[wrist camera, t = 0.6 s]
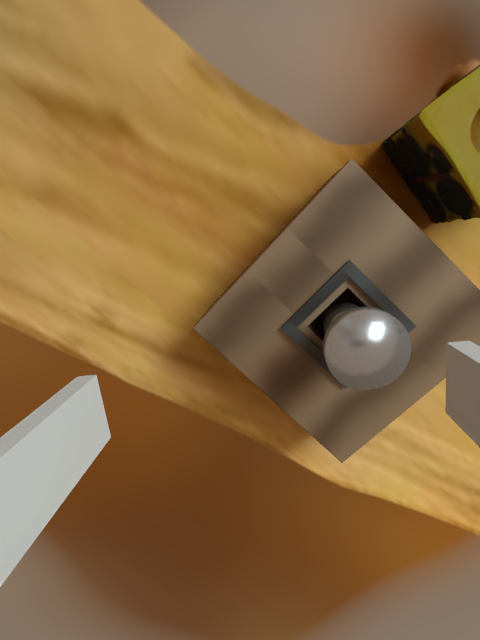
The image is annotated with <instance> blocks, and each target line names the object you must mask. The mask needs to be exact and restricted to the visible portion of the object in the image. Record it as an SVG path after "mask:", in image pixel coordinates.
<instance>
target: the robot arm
mask: <svg viewBox="0 0 480 640" xmlns="http://www.w3.org/2000/svg"><path fill="white" fill-rule="evenodd" d="M446 413H447V414H448V415H449V416H450V417H451V419H452V420H453V421H454V422H455V423H456V424H457V425H458V426H459V427H460V428H461V429H462V430H463V431H464V432H465V433H466V434H467V435H468V436H469V437H470V438H471V439H472V440H473V441H474V442H475V443H476V444H477V445H478V446H479V447H480V346H478V345H476V344H474V343H473V342H471V341H459V342H448V343H447V349H446ZM110 438H111V435H110V431H109V427H108V423H107V418H106V414H105V410H104V405H103V402H102V397H101V393H100V388H99V384H98V380H97V375H88V376H79V377H77V378H75V379H74V380H73V381H71V382H70V383H69V384H68V385H66V386H65V387H64V388H63V389H61V390H60V391H59V392H58V393H56V394H55V395H54V396H52V397H51V398H50V399H49V400H47V401H46V402H45V403H44V404H43V405H41V406H40V407H39V408H37V409H36V410H35V411H33V412H32V413H31V414H30V415H28V416H27V417H26V418H25V419H24V420H22V421H21V422H20V423H18V424H17V425H16V426H15V427H14V428H12V429H11V430H9V431H8V432H7V433H6V434H4V435H3V436H2V437H1V438H0V586H1V585H2V584H3V582H4V581H5V580H6V578H7V577H8V576H9V574H10V573H11V572H12V570H13V569H14V568H15V566H16V565H17V563H18V562H19V561H20V559H21V558H22V557H23V555H24V554H25V553H26V551H27V550H28V549H29V547H30V546H31V545H32V543H33V542H34V540H35V539H36V538H37V536H38V535H39V534H40V532H41V531H42V530H43V528H44V527H45V526H46V524H47V523H48V522H49V520H50V519H51V518H52V516H53V515H54V513H55V512H56V511H57V509H58V508H59V507H60V505H61V504H62V503H63V501H64V500H65V499H66V497H67V496H68V495H69V493H70V492H71V490H72V489H73V488H74V486H75V485H76V484H77V482H78V481H79V480H80V478H81V477H82V475H83V474H84V473H85V472H86V470H87V469H88V467H89V466H90V465H91V463H92V462H93V461H94V459H95V458H96V457H97V455H98V454H99V453H100V451H101V450H102V449H103V447H104V446H105V444H106V443H107V442H108V440H109V439H110Z"/></svg>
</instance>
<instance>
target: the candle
mask: <svg viewBox="0 0 480 640" xmlns="http://www.w3.org/2000/svg"><path fill="white" fill-rule="evenodd" d="M382 145H383V148H384V150H385V152H386V154H387V155H388V157H390V158H391V161H392V164H393V165H394V167H395V168H396V169H398V170H399V174H401V176H402V178H403V179H404V180H405V181H406V183H407V186H408V187H409V188H410V189H411V192H412V193H413V194H415V196H416V197H417V199H418V200H419V201H420V203H421V205H422V206H423V208H424V209H425V211H426V212H427V213H428V215H429V218H430V221H433V222H434V223H439V222H441V223H444V222H451V221H453V220H456V219H463V220H467V219H471V218H480V65H479V66H477V67H476V68H475V69H473V70H472V71H470V72H469V73H468V74H466V75H465V76H464V77H462V78H461V79H460V80H458V81H457V82H456V83H455V84H454V85H453V86H452V87H451V88H449V89H448V90H447V91H446V92H444V93H443V94H442V95H441V96H440V97H438V98H437V99H436V100H435V101H433V102H432V103H431V104H429V105H428V106H427V107H426V108H425V109H423V110H422V111H421V112H420V113H418V114H417V115H416V116H415V117H413V118H412V119H411V120H410V121H408V122H407V123H406V124H405V125H404V126H403V127H402V128H400V129H399V130H397V131H396V132H395V133H394V134H392V135H391V136H390V137H388V138H387V139H385V141H384V142H383V144H382Z"/></svg>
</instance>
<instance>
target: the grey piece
mask: <svg viewBox="0 0 480 640" xmlns="http://www.w3.org/2000/svg"><path fill="white" fill-rule="evenodd" d="M322 326H323V330H324V332H325V336H324V339H323V355H324V359H325V361H326V364H327V366H328V368H329V370H330V372H331V373H332V374H333V376H334V377H335V378H336V379H337V380H338V381H340V382H341V383H342V384H344V385H346V386H348V387H351V388H354V389H358V390H373V389H378V388H381V387H384V386H386V385H388V384H390V383H391V382H393V381H394V380H396V379H397V378H398V377H399V376H400V375H401V374H402V372H403V371H404V370H405V368H406V366H407V364H408V362H409V359H410V355H411V341H410V337H409V334H408V332H407V330H406V328H405V327H404V326H403V324H402V323H401V322H400V321H399V320H397V319H396V318H395V317H393V316H392V315H390V314H389V313H387V312H386V311H383V310H381V309H378V308H374V307H358V306H357V305H355V304H353V303H350V302H340V303H336V304H334V305H333V306H331V307H330V308H329V309H328V310H327V311H326V313H325V314H324V317H323V320H322Z"/></svg>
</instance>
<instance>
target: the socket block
mask: <svg viewBox="0 0 480 640" xmlns="http://www.w3.org/2000/svg"><path fill="white" fill-rule="evenodd" d="M340 302H350V303H353V304H355V305H357V306H358V307H374V308H378V309H381V310H383V311H386V312H387V313H389V314H390V315H392V316H393V317H395V318H396V319H397V320H399V321H400V322H401V323H402V324H403V326H404V327H405V328H406V330H407V332H408V334H409V337H410V341H411V355H410V359H409V362H408V364H407V366H406V368H405V370H404V371H403V372H402V374H401V375H400V376H399V377H398V378H397V379H396V380H394V381H393V382H391V383H390V384H388V385H386V386H384V387H381V388H378V389H373V390H358V389H354V388H351V387H348V386H346V385H344V384H342V383H341V382H340V381H338V380H337V379H336V378H335V377H334V376H333V374H332V373H331V372H330V370H329V368H328V366H327V364H326V361H325V359H324V355H323V339H324V336H325V332H324V330H323V326H322V320H323V317H324V314H325V313H326V311H327V310H328V309H329V308H330V307H331V306H333V305H334V304H336V303H340ZM193 329H194V330H195V331H196V332H198V333H199V334H200V335H201V336H202V337H203V338H204V339H205V340H206V341H207V342H209V343H210V344H211V345H212V346H213V347H214V348H215V349H216V350H217V351H219V352H220V353H221V354H222V355H223V356H224V357H225V358H226V359H227V360H229V361H230V362H231V363H232V364H233V365H234V366H235V367H236V368H237V369H238V370H240V371H241V372H242V373H243V374H244V375H245V376H246V377H247V378H248V379H250V380H251V381H252V382H253V383H254V384H255V385H256V386H257V387H258V388H260V389H261V390H262V391H263V392H264V393H265V394H266V395H267V396H268V397H269V398H271V399H272V400H273V401H274V402H275V403H276V404H277V405H278V406H279V407H281V408H282V409H283V410H284V411H285V412H286V413H287V414H288V415H289V416H291V417H292V418H293V419H294V420H295V421H296V422H297V423H298V424H299V425H301V426H302V427H303V428H304V429H305V430H306V431H307V432H308V433H309V434H310V435H312V436H313V437H314V438H315V439H316V440H317V441H318V442H319V443H320V444H322V445H323V446H324V447H325V448H326V449H327V450H328V451H329V452H330V453H332V454H333V455H334V456H335V457H336V458H337V459H338V460H339V461H340V462H341V463H343V462H344V461H345V460H346V459H347V458H349V457H350V456H351V455H352V454H354V453H355V452H356V451H357V450H358V449H360V448H361V447H362V446H363V445H364V444H366V443H367V442H368V441H369V440H371V439H372V438H373V437H374V436H375V435H377V434H378V433H379V432H380V431H381V430H383V429H384V428H385V427H386V426H388V425H389V424H390V423H391V422H392V421H394V420H395V419H396V418H397V417H398V416H400V415H401V414H402V413H403V412H405V411H406V410H407V409H408V408H409V407H411V406H412V405H413V404H414V403H415V402H417V401H418V400H419V399H420V398H422V397H423V396H424V395H425V394H426V393H428V392H429V391H430V390H431V389H432V388H434V387H435V386H436V385H437V384H438V383H440V382H441V381H442V380H443V379H445V378H446V349H447V343H448V342H459V341H471V342H473V343H474V344H476V345H478V346H480V290H479V289H478V288H477V287H476V286H475V285H474V284H473V283H472V282H471V281H470V280H469V279H468V278H467V277H466V276H465V275H464V274H463V273H462V272H461V271H460V269H459V268H458V267H457V266H456V265H455V264H454V263H453V262H452V261H451V260H450V259H449V258H448V257H447V256H446V255H445V254H444V253H443V252H442V251H441V250H440V249H439V248H438V247H437V246H436V245H435V244H434V243H433V242H432V241H431V239H430V238H429V237H428V236H427V235H426V234H425V233H424V232H423V231H422V230H421V229H420V228H419V227H418V226H417V225H416V224H415V223H414V222H413V221H412V220H411V219H410V218H409V217H408V216H407V215H406V214H405V213H404V212H403V211H402V209H401V208H400V207H399V206H398V205H397V204H396V203H395V202H394V201H393V200H392V199H391V198H390V197H389V196H388V195H387V194H386V193H385V192H384V191H383V190H382V189H381V188H380V187H379V186H378V185H377V184H376V183H375V182H374V181H373V179H372V178H371V177H370V176H369V175H368V174H367V173H366V172H365V171H364V170H363V169H362V168H361V167H360V166H359V165H358V164H357V163H356V162H355V161H354V160H353V159H351V160H350V161H349V162H347V163H346V164H345V165H344V166H343V167H342V168H341V169H340V170H338V171H337V172H336V173H335V174H334V175H333V176H332V177H331V178H330V179H329V180H328V182H327V183H326V184H325V185H324V186H323V187H322V188H321V189H320V190H319V191H318V192H317V193H316V194H315V195H314V197H313V198H312V199H311V200H310V201H309V202H308V203H307V204H306V205H305V206H304V207H303V208H302V209H301V210H300V212H299V213H298V214H297V215H296V216H295V217H294V218H293V219H292V220H291V221H290V222H289V223H288V224H287V225H286V227H285V228H284V229H283V230H282V231H281V232H280V233H279V234H278V235H277V236H276V237H275V238H274V239H273V241H272V242H271V243H270V244H269V245H268V246H267V247H266V248H265V249H264V250H263V251H262V252H261V253H260V254H259V256H258V257H257V258H256V259H255V260H254V261H253V262H252V263H251V264H250V265H249V266H248V267H247V268H246V269H245V271H244V272H243V273H242V274H241V275H240V276H239V277H238V278H237V279H236V280H235V281H234V282H233V283H232V284H231V286H230V287H229V288H228V289H227V290H226V291H225V292H224V293H223V294H222V295H221V296H220V297H219V298H218V299H217V301H216V302H215V303H214V304H213V305H212V306H211V307H210V308H209V309H208V310H207V311H206V313H205V314H204V315H203V316H202V318H201V319H200V320H199V322H198V323H197V324H196V325H195V327H194V328H193Z"/></svg>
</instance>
